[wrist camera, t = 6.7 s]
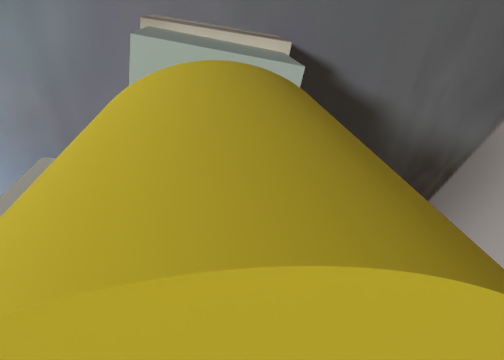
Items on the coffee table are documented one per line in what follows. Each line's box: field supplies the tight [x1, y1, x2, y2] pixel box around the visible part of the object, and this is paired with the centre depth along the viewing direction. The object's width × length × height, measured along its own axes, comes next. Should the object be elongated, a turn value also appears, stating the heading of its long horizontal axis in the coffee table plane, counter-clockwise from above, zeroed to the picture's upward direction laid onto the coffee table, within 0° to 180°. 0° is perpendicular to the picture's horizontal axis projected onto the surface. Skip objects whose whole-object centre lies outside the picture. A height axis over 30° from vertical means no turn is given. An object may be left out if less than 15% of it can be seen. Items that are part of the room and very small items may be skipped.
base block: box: [140, 15, 292, 56], centre depth 27 cm, size 10×10×6 cm
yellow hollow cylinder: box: [0, 60, 504, 360], centre depth 9 cm, size 10×10×9 cm
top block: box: [129, 26, 305, 87], centre depth 22 cm, size 9×9×6 cm
